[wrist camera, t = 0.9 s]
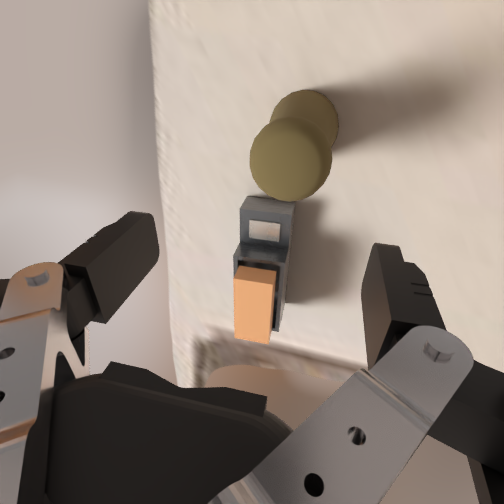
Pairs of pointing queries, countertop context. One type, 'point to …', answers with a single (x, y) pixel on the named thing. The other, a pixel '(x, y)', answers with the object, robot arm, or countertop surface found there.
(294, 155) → the cork
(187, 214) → the countertop surface
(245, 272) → the orange button
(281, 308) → the grey slotted housing
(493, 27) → the countertop surface
